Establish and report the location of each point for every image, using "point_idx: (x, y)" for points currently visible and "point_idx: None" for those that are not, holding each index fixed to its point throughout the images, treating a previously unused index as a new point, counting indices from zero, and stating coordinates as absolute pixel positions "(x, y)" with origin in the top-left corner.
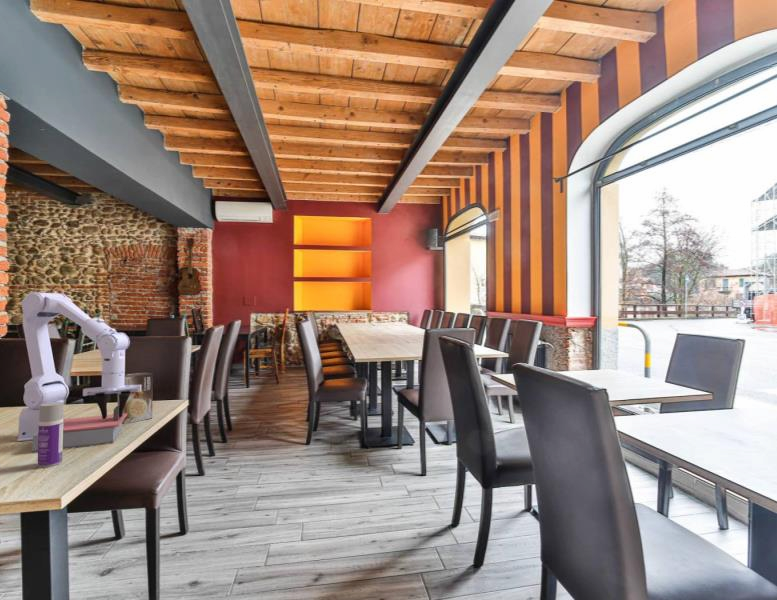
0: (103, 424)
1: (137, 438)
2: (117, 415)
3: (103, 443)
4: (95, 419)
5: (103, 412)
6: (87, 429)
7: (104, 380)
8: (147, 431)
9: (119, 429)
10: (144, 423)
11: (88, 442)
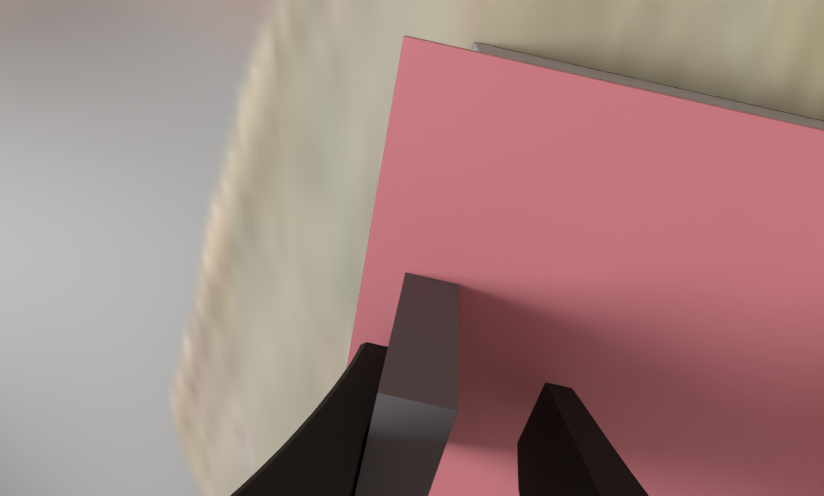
0: (593, 194)
1: (264, 70)
2: (405, 317)
3: (555, 60)
4: None
5: (595, 451)
6: None
7: None
8: (207, 252)
9: None
10: (253, 455)
11: (697, 93)
